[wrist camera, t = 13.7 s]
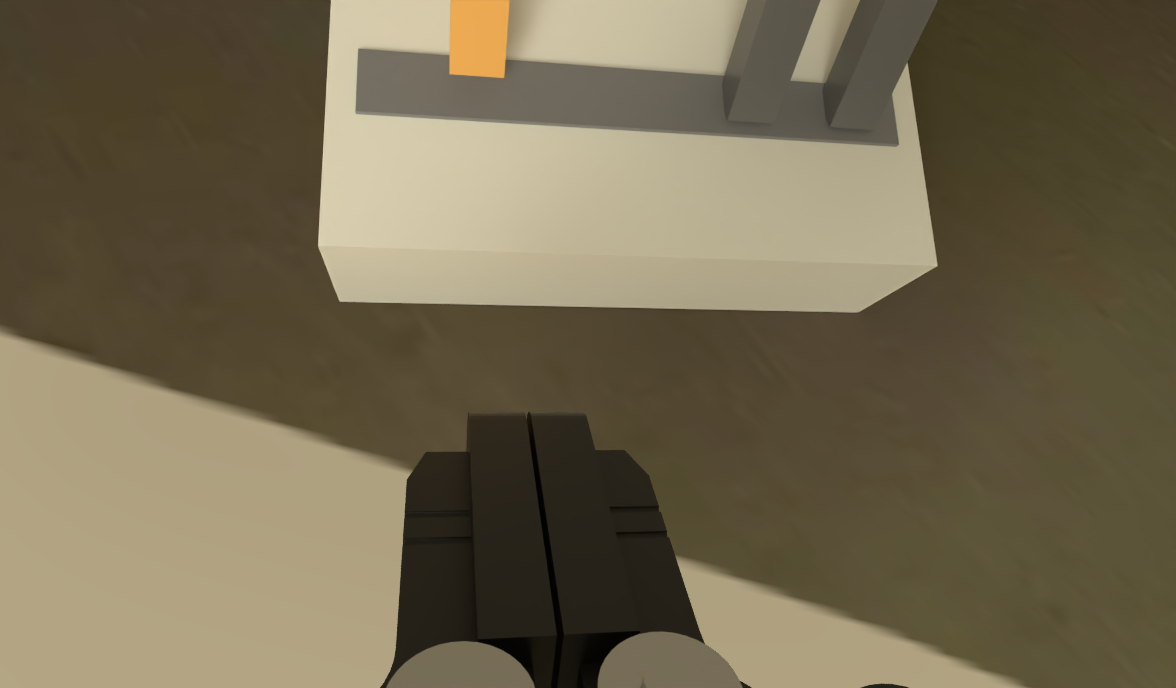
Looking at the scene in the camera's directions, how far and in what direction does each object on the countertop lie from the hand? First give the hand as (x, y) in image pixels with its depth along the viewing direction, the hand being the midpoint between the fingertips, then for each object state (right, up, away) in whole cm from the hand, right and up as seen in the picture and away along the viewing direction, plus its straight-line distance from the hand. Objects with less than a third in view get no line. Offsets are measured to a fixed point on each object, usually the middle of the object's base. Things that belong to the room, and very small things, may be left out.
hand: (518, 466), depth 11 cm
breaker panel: (+2, +9, +25) cm, 26 cm away
